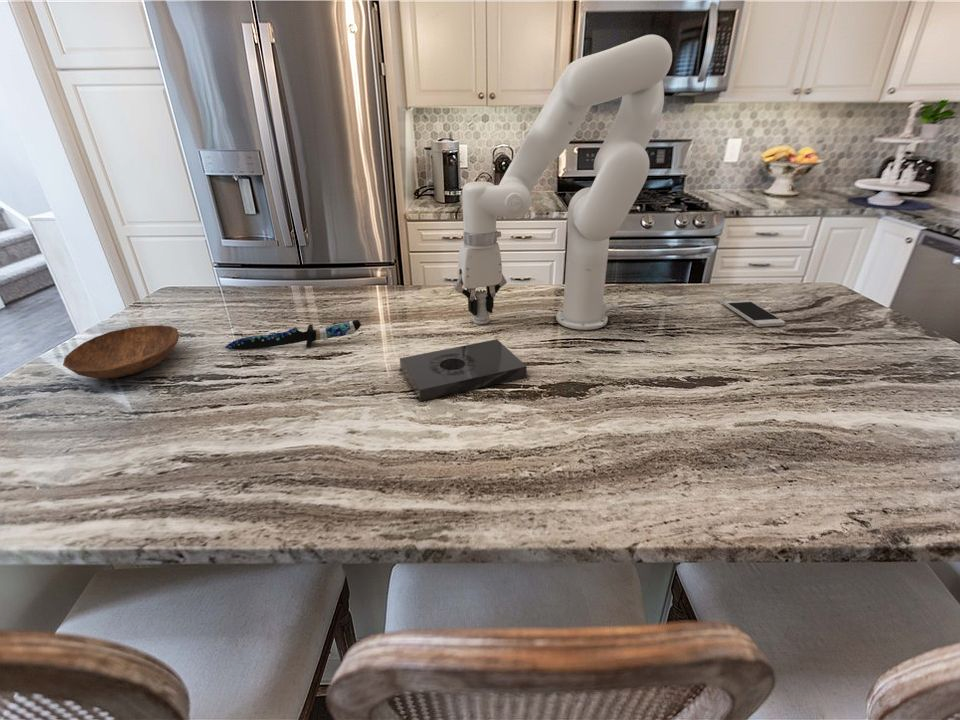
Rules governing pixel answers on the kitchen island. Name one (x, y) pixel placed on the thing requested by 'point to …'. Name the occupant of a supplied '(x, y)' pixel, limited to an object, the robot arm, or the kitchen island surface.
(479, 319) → the rook chess piece
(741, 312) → the smartphone
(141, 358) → the bowl
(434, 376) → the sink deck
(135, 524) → the kitchen island surface
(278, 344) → the knife
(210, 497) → the kitchen island surface
